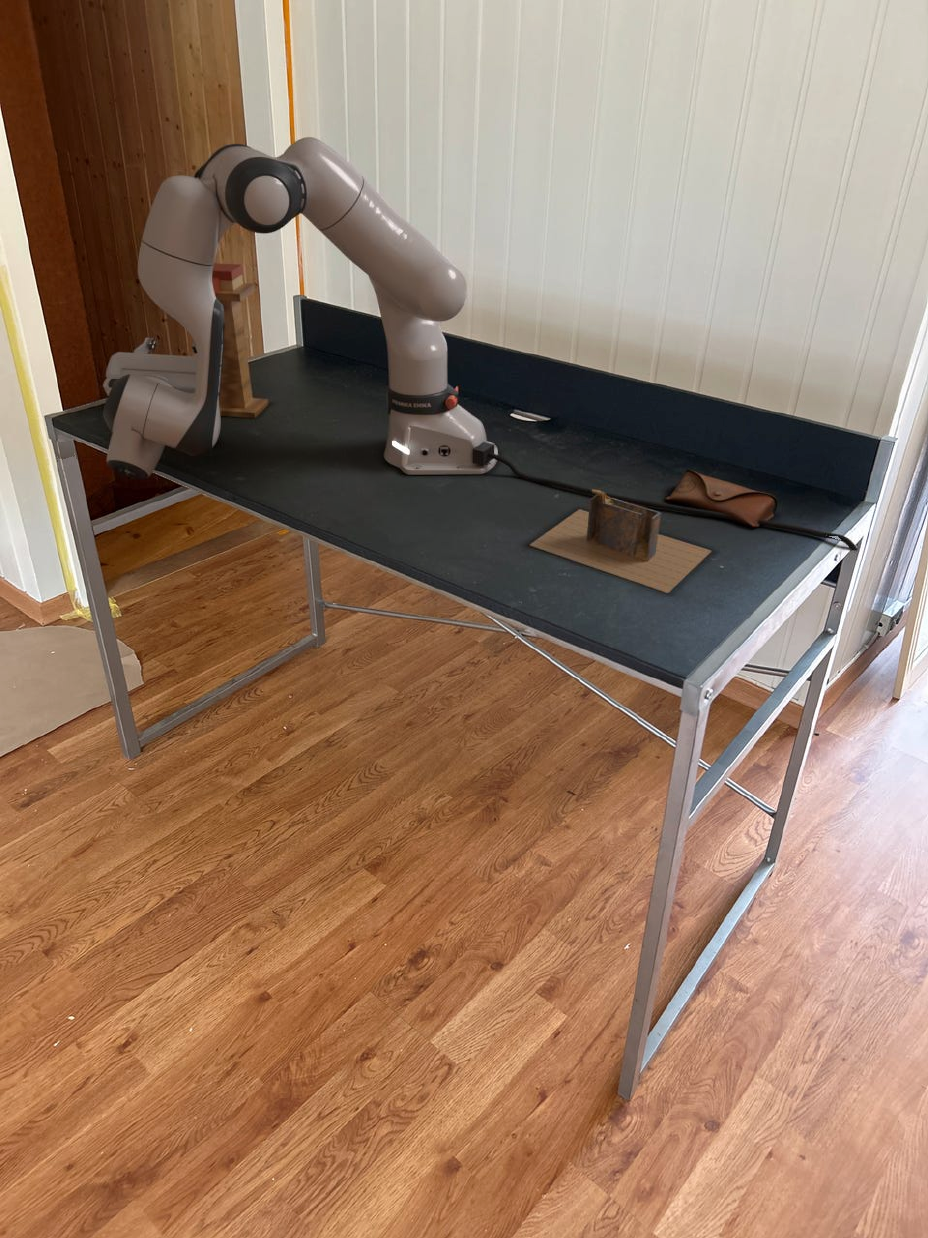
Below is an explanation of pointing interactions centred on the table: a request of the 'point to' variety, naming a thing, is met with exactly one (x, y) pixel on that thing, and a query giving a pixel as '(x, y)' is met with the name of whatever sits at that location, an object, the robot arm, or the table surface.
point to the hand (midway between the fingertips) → (175, 341)
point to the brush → (226, 277)
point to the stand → (236, 359)
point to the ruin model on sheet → (623, 543)
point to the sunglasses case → (724, 498)
